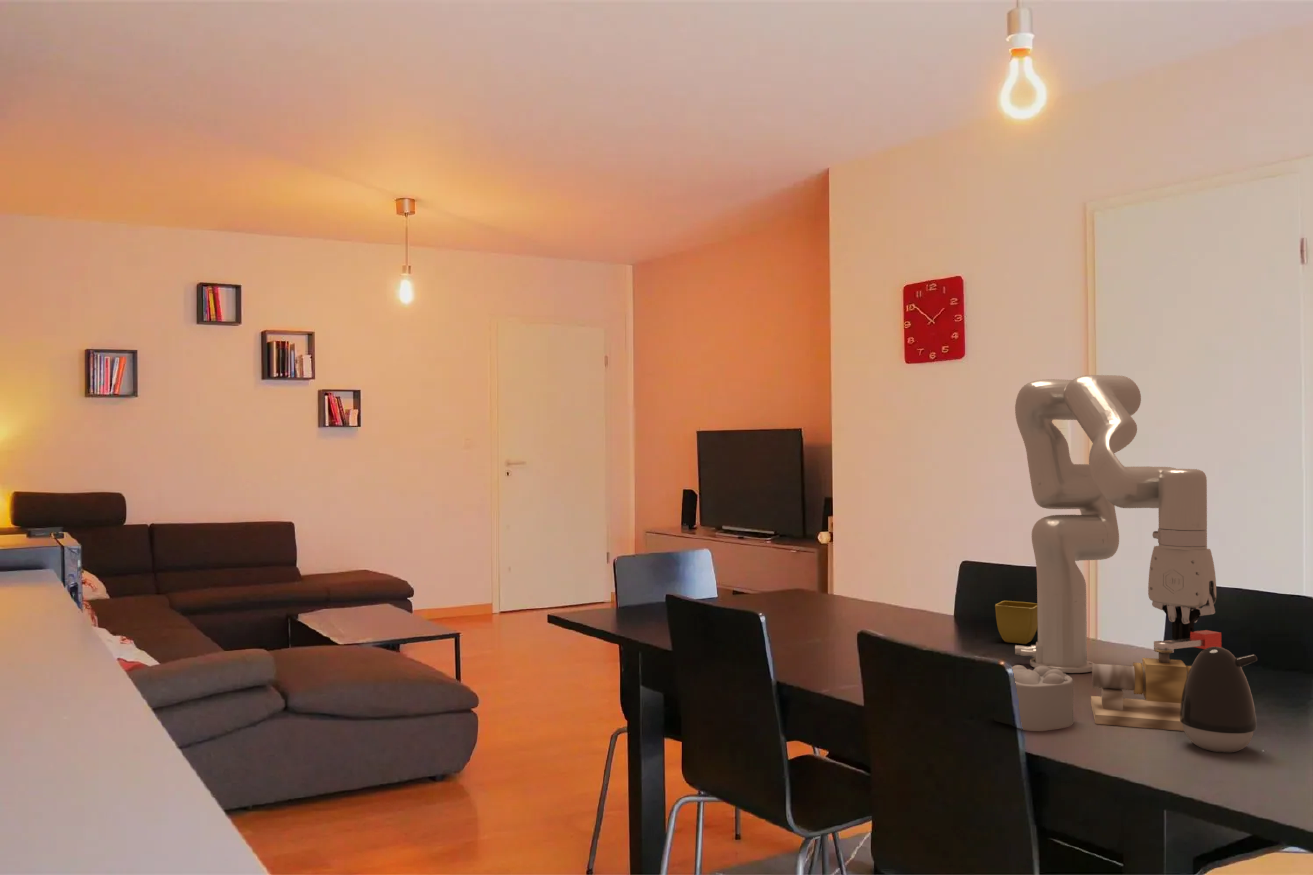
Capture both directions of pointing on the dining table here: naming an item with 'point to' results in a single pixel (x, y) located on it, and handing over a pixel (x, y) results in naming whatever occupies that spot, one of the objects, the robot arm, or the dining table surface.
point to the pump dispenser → (1218, 702)
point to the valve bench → (1152, 680)
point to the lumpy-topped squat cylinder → (1044, 698)
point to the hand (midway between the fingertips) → (1183, 644)
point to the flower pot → (1016, 621)
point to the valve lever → (1190, 642)
